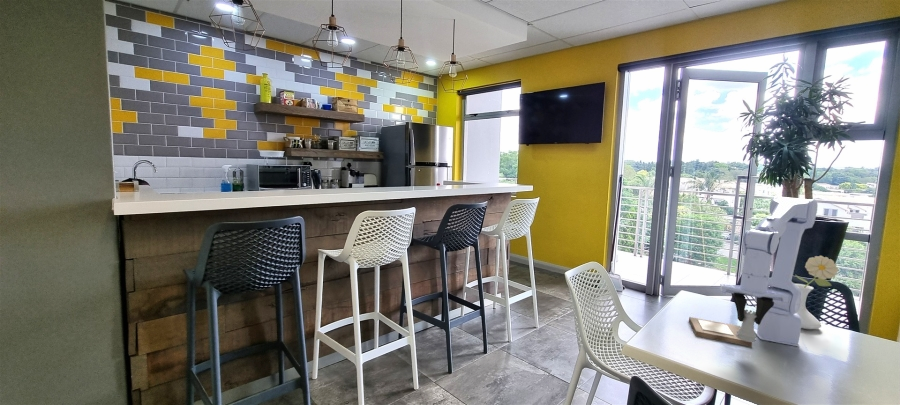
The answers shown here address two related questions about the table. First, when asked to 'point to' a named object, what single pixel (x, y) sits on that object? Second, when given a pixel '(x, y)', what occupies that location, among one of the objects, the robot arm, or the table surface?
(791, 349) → the table surface
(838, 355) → the table surface
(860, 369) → the table surface
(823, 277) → the flower in vase
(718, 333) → the base board
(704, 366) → the table surface
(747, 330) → the rook chess piece
